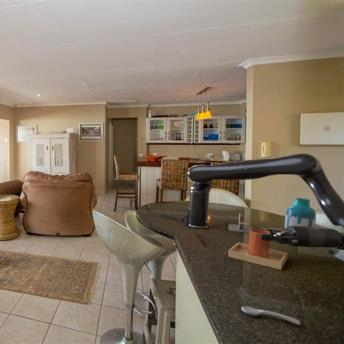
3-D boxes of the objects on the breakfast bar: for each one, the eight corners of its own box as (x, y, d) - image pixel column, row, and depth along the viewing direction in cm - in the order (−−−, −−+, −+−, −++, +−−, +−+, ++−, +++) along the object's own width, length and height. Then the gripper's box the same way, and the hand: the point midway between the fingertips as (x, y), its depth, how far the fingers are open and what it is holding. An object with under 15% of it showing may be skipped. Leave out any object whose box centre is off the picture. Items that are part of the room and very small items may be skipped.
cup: (245, 256, 112) (247, 231, 111) (249, 252, 117) (251, 228, 116) (266, 261, 108) (268, 234, 107) (269, 256, 112) (271, 231, 111)
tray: (228, 256, 113) (228, 250, 113) (237, 248, 123) (238, 242, 123) (281, 269, 102) (281, 262, 101) (287, 259, 111) (287, 252, 111)
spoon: (239, 308, 77) (241, 301, 76) (296, 323, 72) (298, 316, 72) (242, 314, 74) (243, 307, 74) (301, 330, 69) (302, 322, 69)
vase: (306, 237, 138) (310, 197, 137) (319, 244, 129) (323, 201, 127) (279, 234, 142) (282, 196, 140) (289, 241, 132) (293, 200, 130)
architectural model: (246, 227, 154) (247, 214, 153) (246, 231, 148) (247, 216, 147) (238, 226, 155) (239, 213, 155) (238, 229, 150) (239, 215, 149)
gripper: (293, 221, 115) (247, 219, 118) (318, 232, 101) (266, 229, 104) (291, 240, 116) (246, 237, 119) (316, 253, 102) (264, 249, 105)
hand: (255, 233), depth 112 cm, fingers open, 8 cm apart
